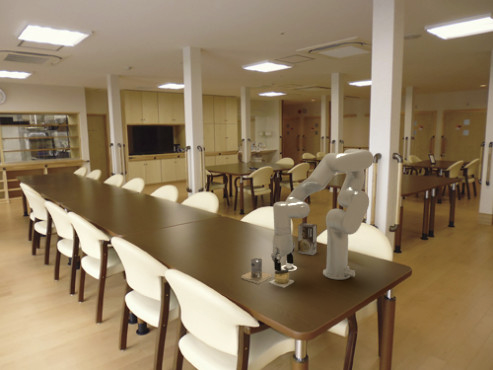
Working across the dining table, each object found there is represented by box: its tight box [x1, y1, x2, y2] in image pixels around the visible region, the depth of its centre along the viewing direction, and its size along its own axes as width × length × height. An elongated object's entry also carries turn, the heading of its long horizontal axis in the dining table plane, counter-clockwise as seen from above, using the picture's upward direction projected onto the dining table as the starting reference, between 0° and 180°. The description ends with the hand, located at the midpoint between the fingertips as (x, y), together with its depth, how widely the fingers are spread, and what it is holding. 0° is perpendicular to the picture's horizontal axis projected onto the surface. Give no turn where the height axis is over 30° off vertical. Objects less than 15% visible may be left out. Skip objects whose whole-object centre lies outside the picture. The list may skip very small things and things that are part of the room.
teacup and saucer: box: [281, 259, 298, 272], centre depth 176 cm, size 9×8×4 cm
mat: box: [268, 278, 295, 289], centre depth 158 cm, size 8×8×1 cm
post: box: [240, 257, 272, 285], centre depth 163 cm, size 10×10×8 cm
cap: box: [274, 268, 290, 284], centre depth 158 cm, size 6×6×5 cm
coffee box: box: [297, 222, 318, 256], centre depth 197 cm, size 9×6×16 cm
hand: (284, 266), depth 157 cm, fingers open, 9 cm apart
